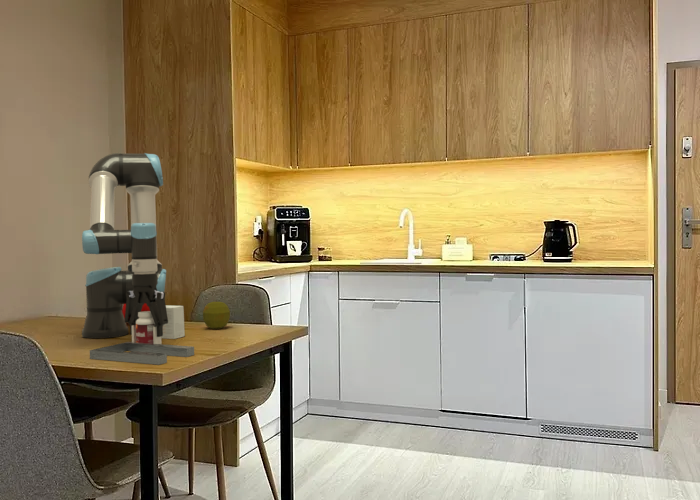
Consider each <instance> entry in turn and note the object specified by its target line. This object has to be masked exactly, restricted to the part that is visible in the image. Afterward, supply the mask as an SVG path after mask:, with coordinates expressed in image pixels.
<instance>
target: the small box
mask: <svg viewBox="0 0 700 500" xmlns="http://www.w3.org/2000/svg"><path fill="white" fill-rule="evenodd" d="M165 305H166V304H165ZM166 311H167V317H168V323H167V324H164V325H163V336H161V339H167V340H169V339H170V340H175V339H180V338H182V337H183V338H184V337H185V314H184V313H185V312H184V311H185V310H184V305H170V304H169V305H166ZM158 322H159V321H158Z"/></svg>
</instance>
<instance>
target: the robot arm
mask: <svg viewBox="0 0 700 500" xmlns="http://www.w3.org/2000/svg"><path fill="white" fill-rule="evenodd" d="M88 186H89V187H90V190H91V191H90V210H89V211H90V213H89V214H90V215H89V229H88V230H87V229H86V230H83V231H82V234H81V242H82V243H81V245H82V252H83V253H84V254H87V255H105V254H107V255H110V254H131V261H130V262H129V263H128V264H127V270H123V269H122V267H121V266H114V267H105V268H99V269H95V270H91V271H89V272H87V274H86V276H85V277H86V278H85V287H86V288H85V291H86V315H85V320H84V325H83V328H82V329H81V336H82V338H86V339H108V338H117V337H122V336H123V337H124V336H127V335H129V331H130V335H131V342H136V320H137V319H139V317H138V312H141V310H142V306H143V305H144V303H146V304H147V306H148V307H149V309H150V312H151V315H152V317H153V320H154V323H155V325H154V327H153V341H154V344H163V343H162V338H161V336H163V325H164V324H167V323H168V317H167V311H166V292H165V288H166V280H167V269H165V268H163V264H162V263H161V262H160V261H159V260H158V247H157V246H158V245H157V244H158V243H157V242H158V241H157V237H158V236H157V233H158V232H157V215H156V214H157V213H156V212H157V211H156V210H157V209H156V195H157V194H158V193H159V192H160V188H161V187H162V186H164V177H163V170H162V165H161V161H160V157H159V155H157V154H155V153H146V152H144V153H119V152H118V153H116V152H115V153H110V154H107V155H104V156H103V157H101V158H100V159H99V160H97V161H96V162H95V164H94V165H93V166H92V168H91V170H90V172H89V176H88ZM117 187H125V192H126V193H128V194H129V196H130V229H115V210H116V209H115V201H116V199H115V196H116V195H115V194H116V193H115V190H116V189H117ZM124 304H126V311H125V318H124V315H123V312H122V309H123V305H124ZM158 321H159V322H158ZM127 324H128V325H129V326H128V325H127ZM129 328H130V330H129Z"/></svg>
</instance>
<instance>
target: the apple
mask: <svg viewBox="0 0 700 500" xmlns="http://www.w3.org/2000/svg"><path fill="white" fill-rule="evenodd" d="M230 317H231V310H230V308H229V306H228V305H227V304H226V302H223V301H211V302H208V303H207V304H206V305H205V306H204V308H203V311H202V318H203V319H202V320H203V322H204V324H205V326H206V327H208V328H209V329H211V330H221V329H223V328H224V327H226V326H227V325H228V323H229V320H230V319H231V318H230Z"/></svg>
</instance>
